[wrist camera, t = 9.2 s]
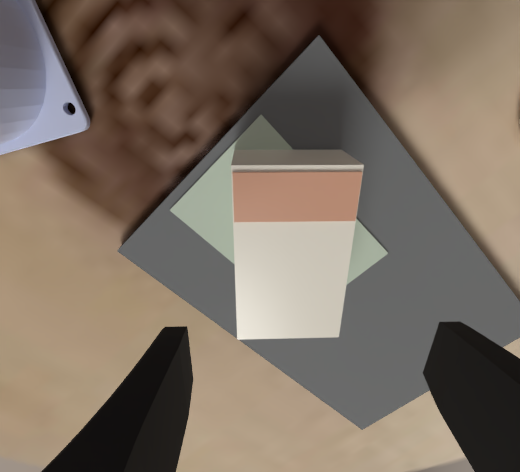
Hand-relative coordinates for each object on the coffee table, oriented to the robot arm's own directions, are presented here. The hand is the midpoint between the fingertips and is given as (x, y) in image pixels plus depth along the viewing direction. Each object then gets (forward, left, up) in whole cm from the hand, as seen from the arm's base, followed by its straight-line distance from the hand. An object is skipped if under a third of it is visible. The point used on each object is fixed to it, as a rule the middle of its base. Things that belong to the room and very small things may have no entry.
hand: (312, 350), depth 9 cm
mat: (+5, +3, -9) cm, 11 cm away
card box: (0, 0, -8) cm, 8 cm away
